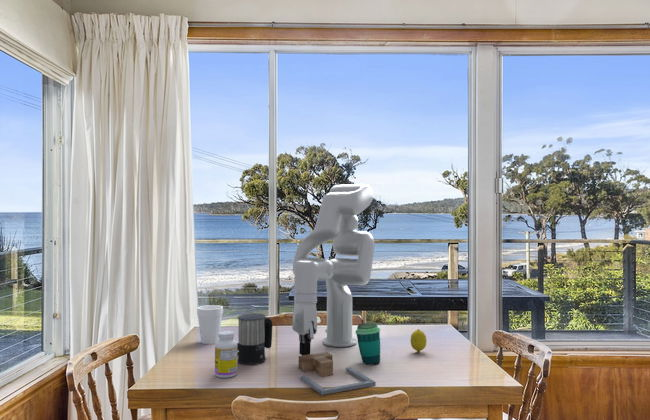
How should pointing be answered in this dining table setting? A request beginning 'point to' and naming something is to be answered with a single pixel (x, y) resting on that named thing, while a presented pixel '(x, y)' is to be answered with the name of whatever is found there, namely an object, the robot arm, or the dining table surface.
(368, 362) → the cup
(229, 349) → the supplement bottle
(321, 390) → the grey u-shaped bar
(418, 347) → the lemon
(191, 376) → the dining table surface
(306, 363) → the t block
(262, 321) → the milk frother
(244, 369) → the dining table surface
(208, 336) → the foam cup
